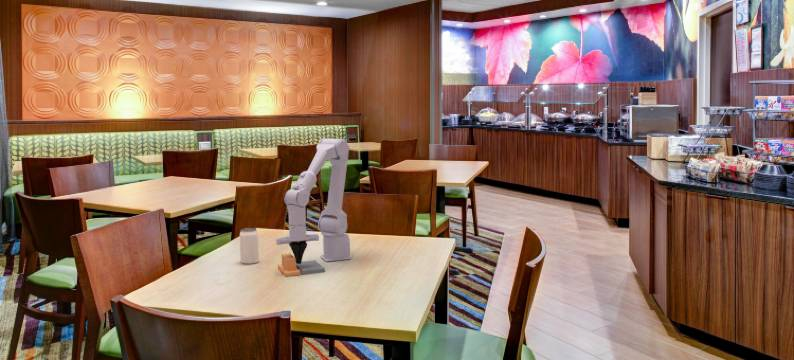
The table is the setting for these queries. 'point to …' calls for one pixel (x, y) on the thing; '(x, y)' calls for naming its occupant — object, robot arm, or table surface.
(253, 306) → the table surface
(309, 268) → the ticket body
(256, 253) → the can
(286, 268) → the stub
